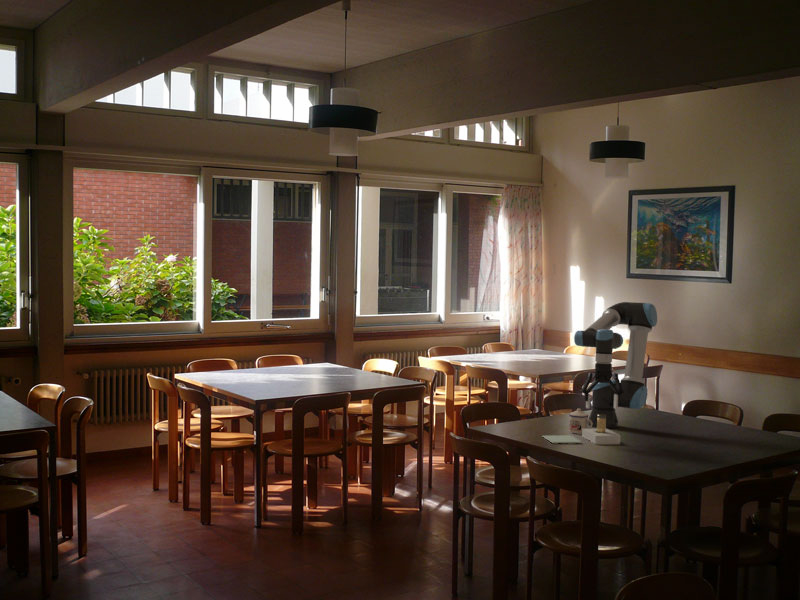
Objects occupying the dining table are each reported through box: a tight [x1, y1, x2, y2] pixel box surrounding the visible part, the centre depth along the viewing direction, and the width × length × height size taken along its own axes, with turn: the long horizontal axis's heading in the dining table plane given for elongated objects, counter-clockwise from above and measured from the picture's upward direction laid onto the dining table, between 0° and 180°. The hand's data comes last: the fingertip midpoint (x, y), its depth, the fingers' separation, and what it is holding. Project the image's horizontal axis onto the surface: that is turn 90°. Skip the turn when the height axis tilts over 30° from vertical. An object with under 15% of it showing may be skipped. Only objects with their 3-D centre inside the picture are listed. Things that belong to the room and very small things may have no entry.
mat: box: [541, 434, 583, 444], centre depth 377 cm, size 14×14×1 cm
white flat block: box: [581, 428, 621, 445], centre depth 380 cm, size 16×12×4 cm
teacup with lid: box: [568, 408, 593, 435], centre depth 396 cm, size 12×9×12 cm
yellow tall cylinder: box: [596, 414, 607, 433], centre depth 380 cm, size 4×4×12 cm
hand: (601, 408), depth 379 cm, fingers open, 13 cm apart
